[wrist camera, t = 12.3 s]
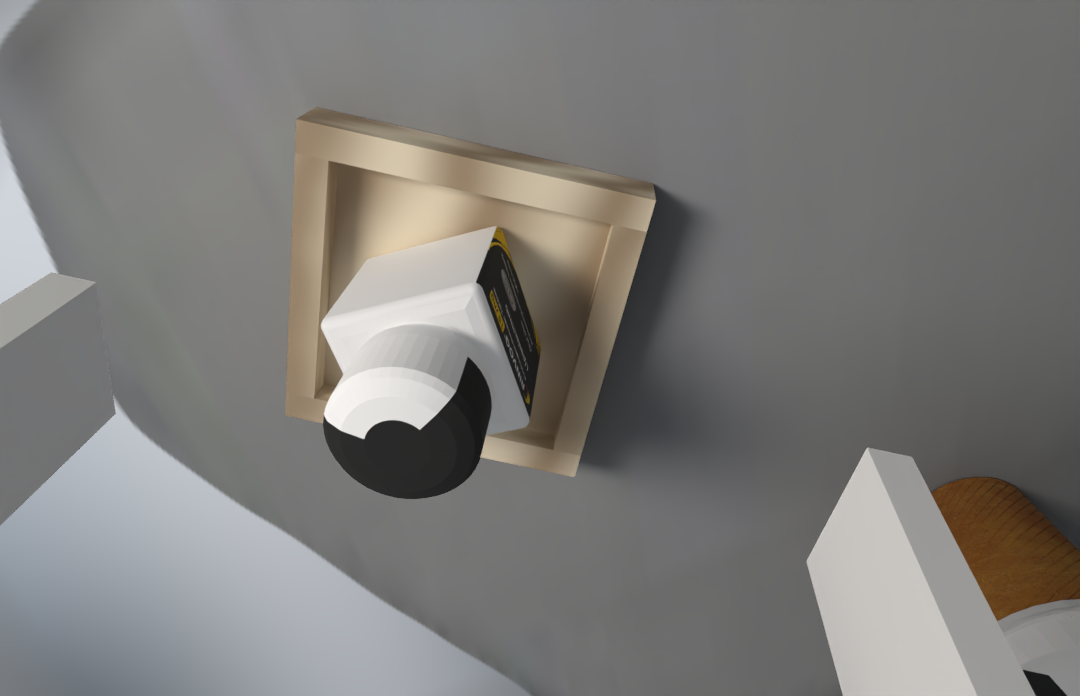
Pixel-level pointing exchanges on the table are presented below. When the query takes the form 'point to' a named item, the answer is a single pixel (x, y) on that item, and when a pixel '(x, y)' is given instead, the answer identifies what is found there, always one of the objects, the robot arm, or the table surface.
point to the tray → (454, 209)
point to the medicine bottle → (429, 363)
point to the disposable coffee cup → (1020, 573)
